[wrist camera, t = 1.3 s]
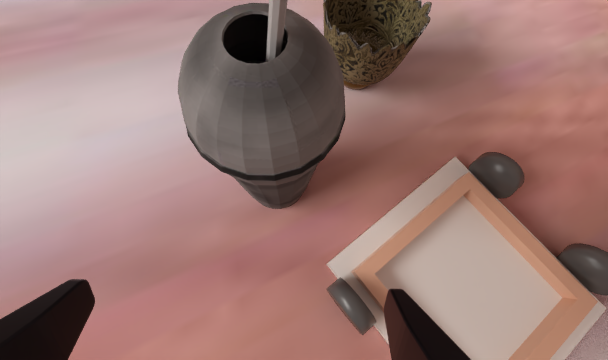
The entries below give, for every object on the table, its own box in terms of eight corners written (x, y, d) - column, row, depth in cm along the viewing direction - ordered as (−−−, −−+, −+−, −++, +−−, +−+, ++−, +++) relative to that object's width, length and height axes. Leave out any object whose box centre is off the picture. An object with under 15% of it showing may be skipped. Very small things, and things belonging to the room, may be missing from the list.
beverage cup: (229, 147, 25) (29, -268, 6) (314, 137, 25) (379, -269, 6) (236, 232, 23) (-51, 8, 4) (328, 219, 23) (492, -31, 4)
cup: (305, 52, 28) (311, -29, 21) (376, 38, 29) (406, -46, 22) (329, 119, 26) (344, 54, 18) (404, 100, 27) (449, 32, 19)
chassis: (604, 296, 22) (661, 300, 19) (461, 468, 19) (499, 512, 15) (459, 152, 26) (485, 133, 22) (313, 274, 22) (317, 274, 18)
